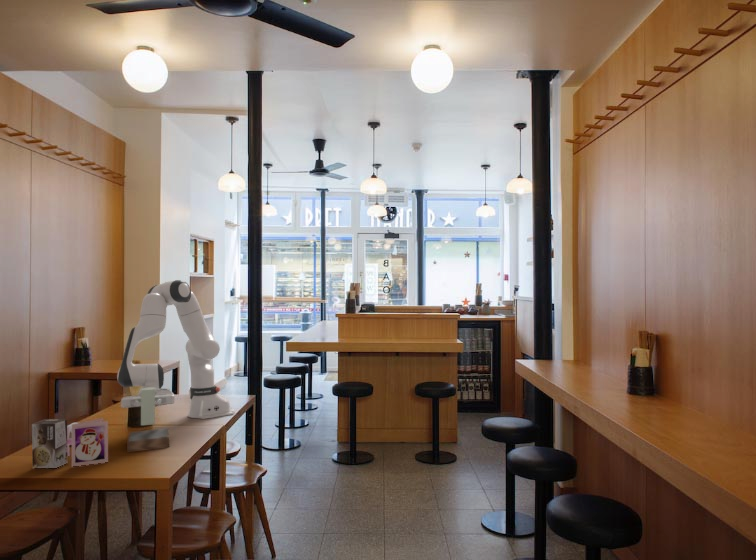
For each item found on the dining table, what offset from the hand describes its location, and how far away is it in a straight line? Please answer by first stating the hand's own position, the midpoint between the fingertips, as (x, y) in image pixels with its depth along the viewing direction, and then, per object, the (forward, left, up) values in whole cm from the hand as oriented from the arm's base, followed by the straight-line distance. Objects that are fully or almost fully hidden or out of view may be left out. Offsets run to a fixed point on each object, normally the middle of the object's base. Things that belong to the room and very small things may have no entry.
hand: (148, 403), depth 206 cm
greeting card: (+19, +14, -17) cm, 29 cm away
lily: (+31, -1, -17) cm, 35 cm away
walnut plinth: (0, -1, -17) cm, 17 cm away
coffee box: (+32, +12, -17) cm, 38 cm away
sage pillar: (0, -1, -8) cm, 8 cm away
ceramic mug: (+28, -18, -17) cm, 37 cm away
